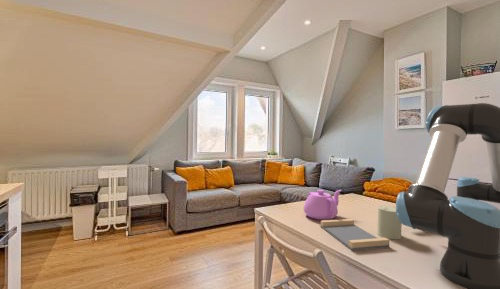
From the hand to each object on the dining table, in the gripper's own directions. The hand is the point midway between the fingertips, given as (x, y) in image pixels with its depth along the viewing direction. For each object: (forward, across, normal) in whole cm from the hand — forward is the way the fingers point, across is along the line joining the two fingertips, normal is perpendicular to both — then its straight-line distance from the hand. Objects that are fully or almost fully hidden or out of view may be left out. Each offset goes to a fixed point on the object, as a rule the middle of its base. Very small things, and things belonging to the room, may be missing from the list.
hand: (409, 215), depth 109 cm
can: (+10, 0, -8) cm, 13 cm away
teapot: (+26, +28, -8) cm, 39 cm away
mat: (+27, +1, -8) cm, 28 cm away
